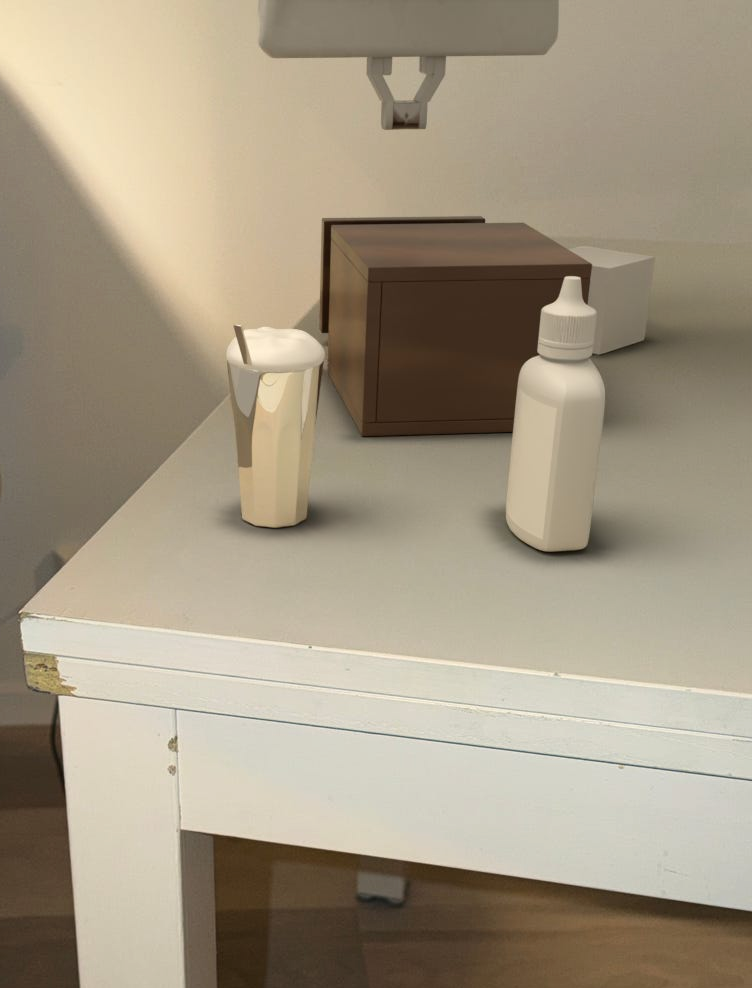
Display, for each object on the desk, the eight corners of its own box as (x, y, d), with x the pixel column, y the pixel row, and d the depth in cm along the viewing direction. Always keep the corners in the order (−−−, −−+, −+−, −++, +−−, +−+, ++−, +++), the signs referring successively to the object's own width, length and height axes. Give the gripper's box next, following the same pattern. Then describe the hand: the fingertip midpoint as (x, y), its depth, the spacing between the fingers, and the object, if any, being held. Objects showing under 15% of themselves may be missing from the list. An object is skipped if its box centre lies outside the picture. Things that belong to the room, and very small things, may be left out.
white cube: (599, 355, 92) (609, 268, 89) (528, 340, 96) (536, 256, 93) (644, 340, 96) (655, 256, 93) (574, 326, 100) (583, 245, 97)
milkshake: (199, 525, 63) (195, 318, 59) (261, 493, 67) (262, 296, 63) (277, 546, 61) (279, 332, 56) (337, 511, 65) (343, 309, 60)
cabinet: (327, 373, 88) (331, 224, 83) (510, 368, 89) (524, 222, 84) (361, 436, 75) (368, 267, 71) (573, 430, 77) (592, 263, 72)
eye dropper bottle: (488, 547, 61) (511, 286, 55) (510, 506, 66) (533, 262, 60) (583, 560, 60) (616, 294, 54) (598, 517, 64) (630, 269, 59)
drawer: (309, 313, 99) (311, 206, 95) (457, 310, 100) (464, 204, 97) (346, 376, 83) (350, 251, 80) (520, 372, 85) (532, 248, 81)
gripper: (553, -97, 88) (536, 122, 95) (252, -97, 87) (255, 126, 93) (583, -102, 83) (562, 131, 89) (262, -102, 81) (264, 136, 87)
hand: (403, 129), depth 91 cm, fingers closed
